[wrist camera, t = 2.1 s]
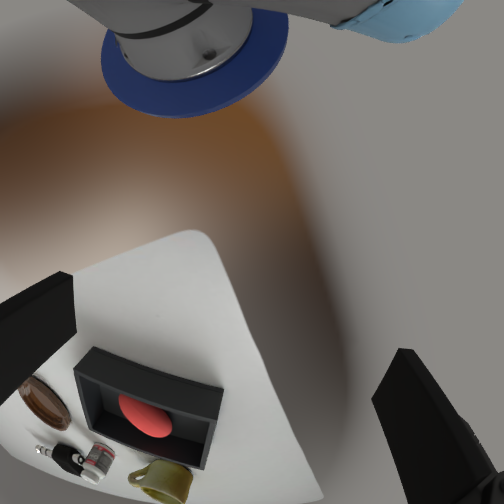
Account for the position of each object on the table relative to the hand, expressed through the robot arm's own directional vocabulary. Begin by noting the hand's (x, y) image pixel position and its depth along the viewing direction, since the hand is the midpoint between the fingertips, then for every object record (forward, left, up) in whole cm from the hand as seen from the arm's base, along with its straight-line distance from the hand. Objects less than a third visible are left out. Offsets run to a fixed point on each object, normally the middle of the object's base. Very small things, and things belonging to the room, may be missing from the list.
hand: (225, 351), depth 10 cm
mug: (+50, -7, -19) cm, 54 cm away
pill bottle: (+53, -21, -19) cm, 60 cm away
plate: (+44, -35, -19) cm, 60 cm away
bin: (+28, -9, -19) cm, 35 cm away
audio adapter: (+70, -38, -19) cm, 82 cm away
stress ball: (+28, -9, -19) cm, 35 cm away
